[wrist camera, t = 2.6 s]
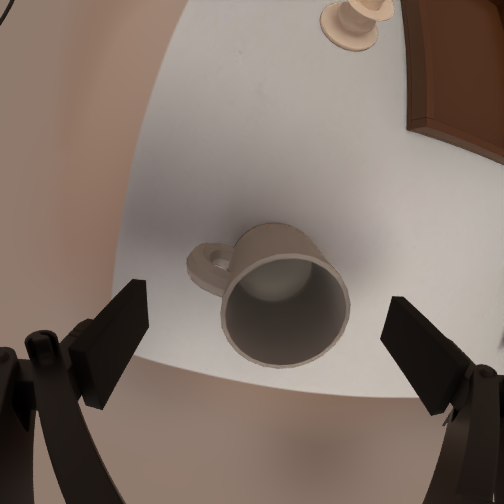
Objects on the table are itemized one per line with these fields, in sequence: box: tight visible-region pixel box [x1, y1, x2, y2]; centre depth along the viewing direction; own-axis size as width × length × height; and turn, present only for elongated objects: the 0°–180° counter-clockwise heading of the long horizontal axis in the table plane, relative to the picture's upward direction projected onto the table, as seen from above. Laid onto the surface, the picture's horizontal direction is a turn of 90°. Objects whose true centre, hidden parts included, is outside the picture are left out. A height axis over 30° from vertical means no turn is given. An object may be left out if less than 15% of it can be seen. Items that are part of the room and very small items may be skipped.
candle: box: [320, 0, 394, 51], centre depth 14 cm, size 5×5×10 cm
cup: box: [187, 223, 351, 369], centre depth 20 cm, size 7×10×9 cm
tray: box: [401, 0, 504, 165], centre depth 17 cm, size 24×17×3 cm
